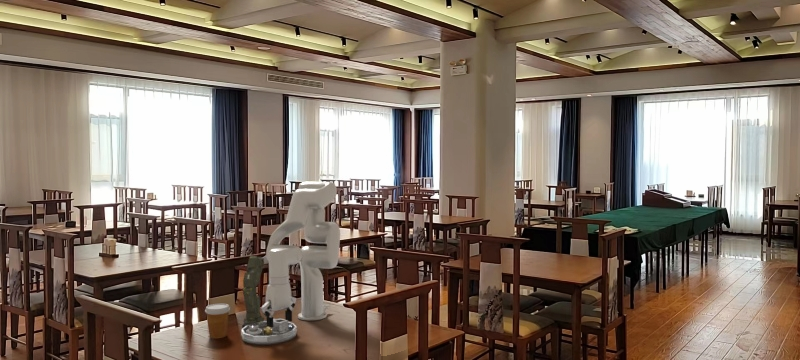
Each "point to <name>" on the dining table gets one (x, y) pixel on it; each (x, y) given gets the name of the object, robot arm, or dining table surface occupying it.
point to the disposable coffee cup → (217, 319)
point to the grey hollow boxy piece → (279, 327)
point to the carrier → (266, 334)
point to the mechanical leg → (252, 290)
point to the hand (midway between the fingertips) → (279, 323)
